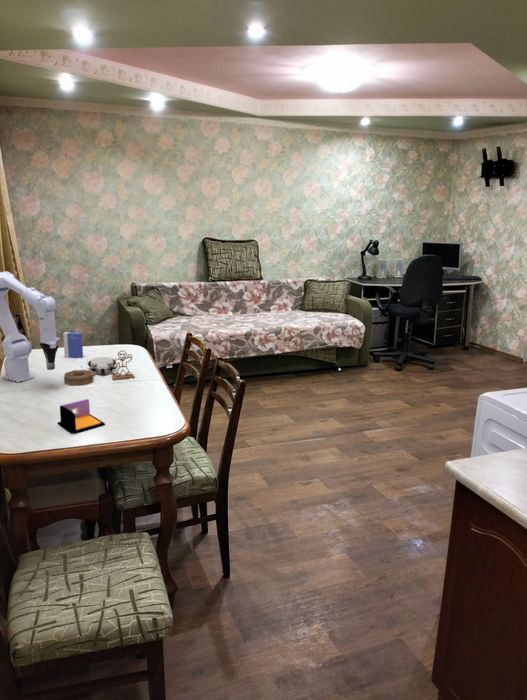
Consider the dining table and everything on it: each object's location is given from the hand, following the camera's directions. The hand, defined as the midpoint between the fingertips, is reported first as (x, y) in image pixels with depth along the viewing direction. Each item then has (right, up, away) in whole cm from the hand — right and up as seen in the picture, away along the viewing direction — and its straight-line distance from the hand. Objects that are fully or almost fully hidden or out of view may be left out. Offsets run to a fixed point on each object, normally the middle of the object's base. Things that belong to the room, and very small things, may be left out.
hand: (50, 361), depth 216 cm
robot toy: (+14, -5, +22) cm, 27 cm away
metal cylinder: (0, -3, +1) cm, 3 cm away
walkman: (-5, +1, +41) cm, 41 cm away
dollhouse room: (+23, -21, -33) cm, 45 cm away
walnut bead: (+8, -8, +9) cm, 15 cm away
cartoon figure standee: (+25, -7, +14) cm, 30 cm away
